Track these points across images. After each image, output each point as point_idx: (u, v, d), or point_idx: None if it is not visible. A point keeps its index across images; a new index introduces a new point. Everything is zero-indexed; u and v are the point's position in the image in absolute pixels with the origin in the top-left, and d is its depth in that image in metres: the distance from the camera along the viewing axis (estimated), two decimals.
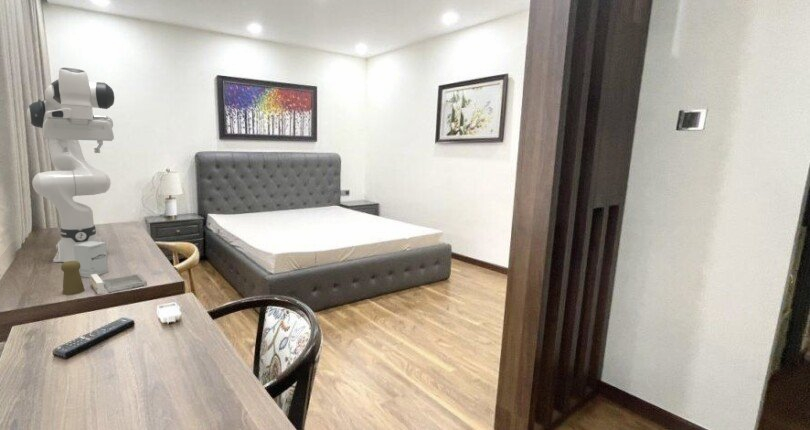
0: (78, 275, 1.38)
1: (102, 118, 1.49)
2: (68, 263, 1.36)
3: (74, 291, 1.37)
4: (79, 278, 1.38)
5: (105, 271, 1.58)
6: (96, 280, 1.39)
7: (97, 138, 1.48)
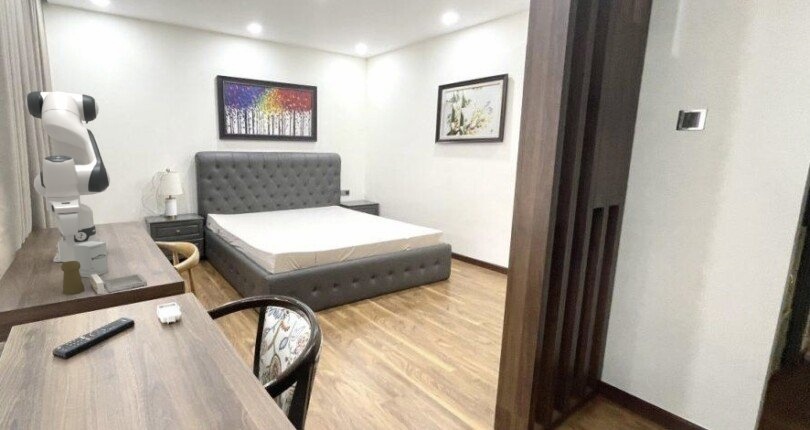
0: (78, 275, 1.38)
1: None
2: (68, 263, 1.36)
3: (74, 291, 1.37)
4: (79, 278, 1.38)
5: (105, 271, 1.58)
6: (96, 280, 1.39)
7: None
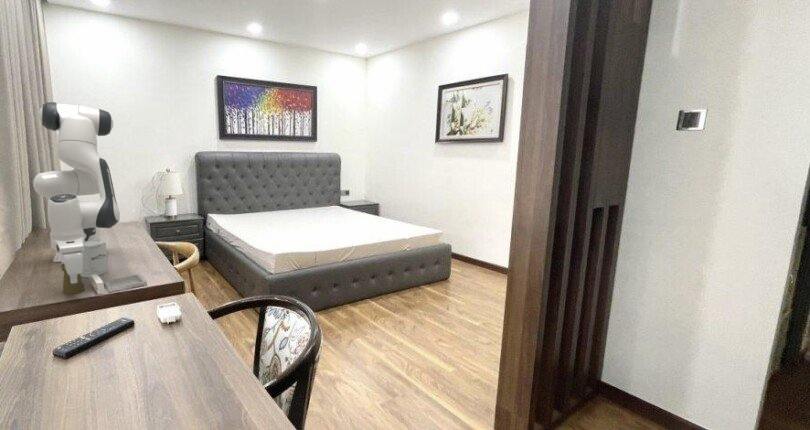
0: (78, 275, 1.38)
1: None
2: None
3: (74, 291, 1.37)
4: (79, 278, 1.38)
5: (105, 271, 1.58)
6: (96, 280, 1.39)
7: None
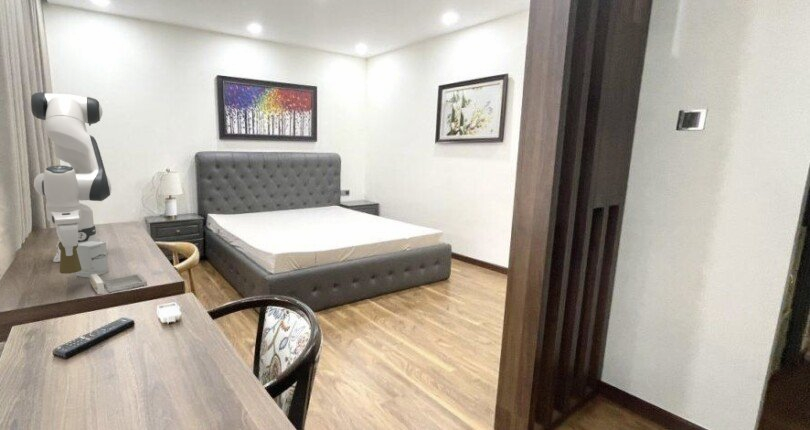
0: (75, 254, 1.37)
1: None
2: None
3: (71, 270, 1.36)
4: (76, 257, 1.38)
5: (105, 271, 1.58)
6: (96, 280, 1.39)
7: None
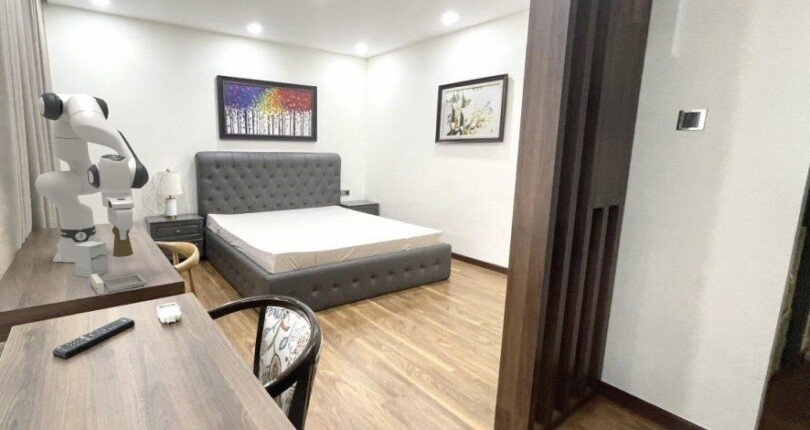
0: (128, 238, 1.45)
1: None
2: None
3: (125, 254, 1.43)
4: (129, 241, 1.45)
5: (105, 271, 1.58)
6: (96, 280, 1.39)
7: None
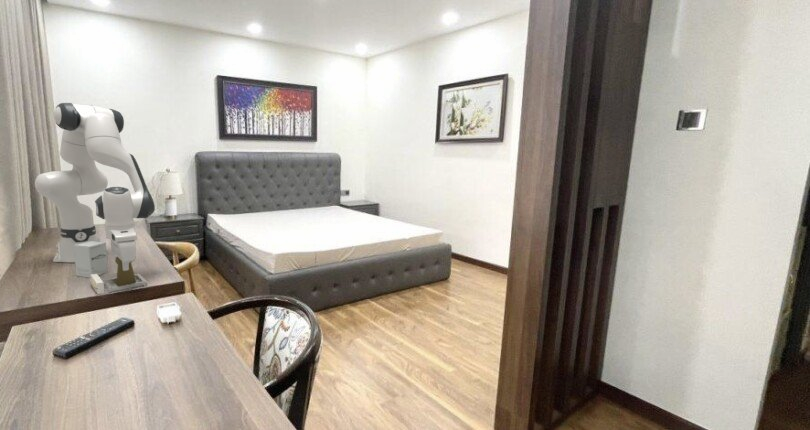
0: (131, 267, 1.47)
1: None
2: None
3: (128, 283, 1.45)
4: (132, 270, 1.47)
5: (105, 271, 1.58)
6: (96, 280, 1.39)
7: None
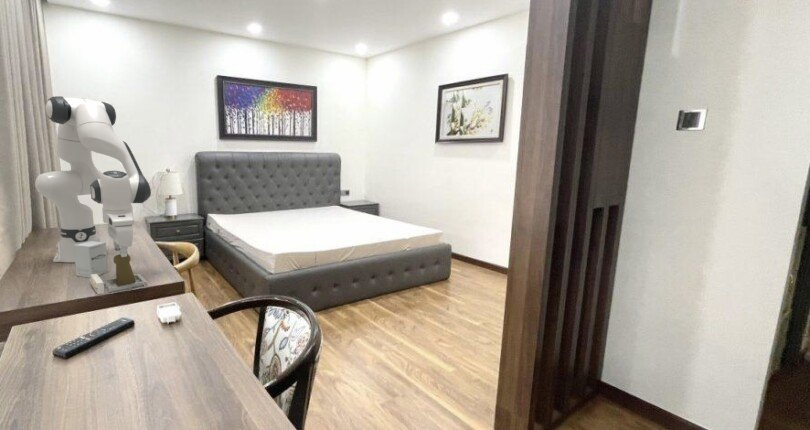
0: (129, 267, 1.46)
1: None
2: (120, 256, 1.44)
3: (127, 282, 1.45)
4: (130, 270, 1.47)
5: (105, 271, 1.58)
6: (96, 280, 1.39)
7: None
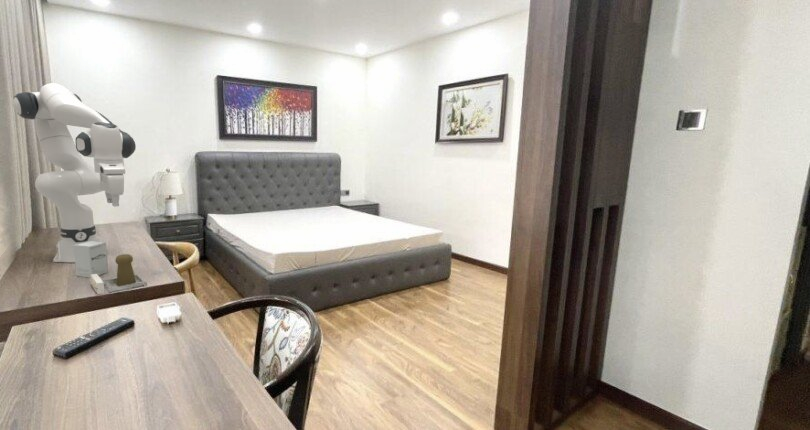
0: (131, 267, 1.47)
1: None
2: (122, 256, 1.44)
3: (127, 283, 1.45)
4: (132, 270, 1.47)
5: (105, 271, 1.58)
6: (96, 280, 1.39)
7: None
